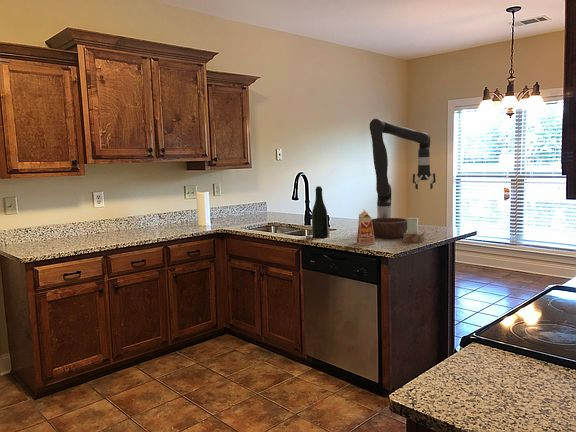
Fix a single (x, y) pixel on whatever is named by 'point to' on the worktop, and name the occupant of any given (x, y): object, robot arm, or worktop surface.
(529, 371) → the worktop surface
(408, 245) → the worktop surface
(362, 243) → the milk carton
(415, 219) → the canister
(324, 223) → the beer bottle
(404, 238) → the walnut block
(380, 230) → the wooden bowl
